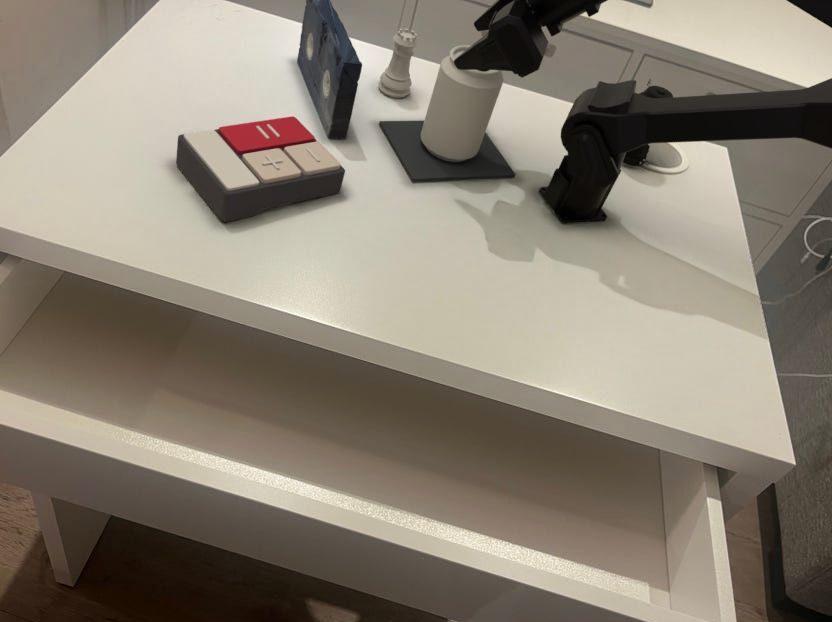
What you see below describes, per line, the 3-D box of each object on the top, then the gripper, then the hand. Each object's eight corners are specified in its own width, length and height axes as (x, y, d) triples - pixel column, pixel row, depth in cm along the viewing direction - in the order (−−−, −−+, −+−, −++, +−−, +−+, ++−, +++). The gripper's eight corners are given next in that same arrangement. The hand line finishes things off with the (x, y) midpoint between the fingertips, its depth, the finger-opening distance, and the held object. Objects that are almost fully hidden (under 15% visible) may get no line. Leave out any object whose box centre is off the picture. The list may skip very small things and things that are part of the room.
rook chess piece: (379, 78, 105) (392, 21, 99) (410, 86, 105) (425, 29, 99) (375, 94, 101) (388, 36, 96) (408, 102, 102) (423, 45, 96)
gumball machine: (658, 172, 102) (697, 105, 94) (622, 175, 100) (659, 106, 92) (630, 143, 106) (665, 76, 98) (595, 145, 103) (629, 77, 96)
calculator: (348, 164, 83) (227, 188, 75) (340, 197, 86) (222, 223, 78) (296, 111, 88) (176, 128, 80) (289, 143, 91) (174, 162, 83)
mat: (475, 123, 101) (476, 119, 101) (514, 177, 94) (516, 174, 94) (378, 124, 97) (379, 121, 96) (412, 182, 90) (413, 178, 89)
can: (463, 173, 92) (495, 82, 83) (408, 147, 93) (434, 55, 85) (485, 147, 97) (518, 58, 88) (433, 123, 98) (460, 33, 89)
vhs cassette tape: (347, 140, 93) (363, 63, 86) (323, 139, 92) (338, 62, 85) (317, 62, 104) (329, -11, 97) (296, 61, 103) (306, -13, 96)
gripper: (576, -138, 77) (449, -53, 87) (543, -71, 66) (401, 18, 76) (622, -38, 82) (497, 31, 92) (599, 41, 71) (459, 111, 81)
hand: (466, 45), depth 85 cm, fingers open, 9 cm apart
